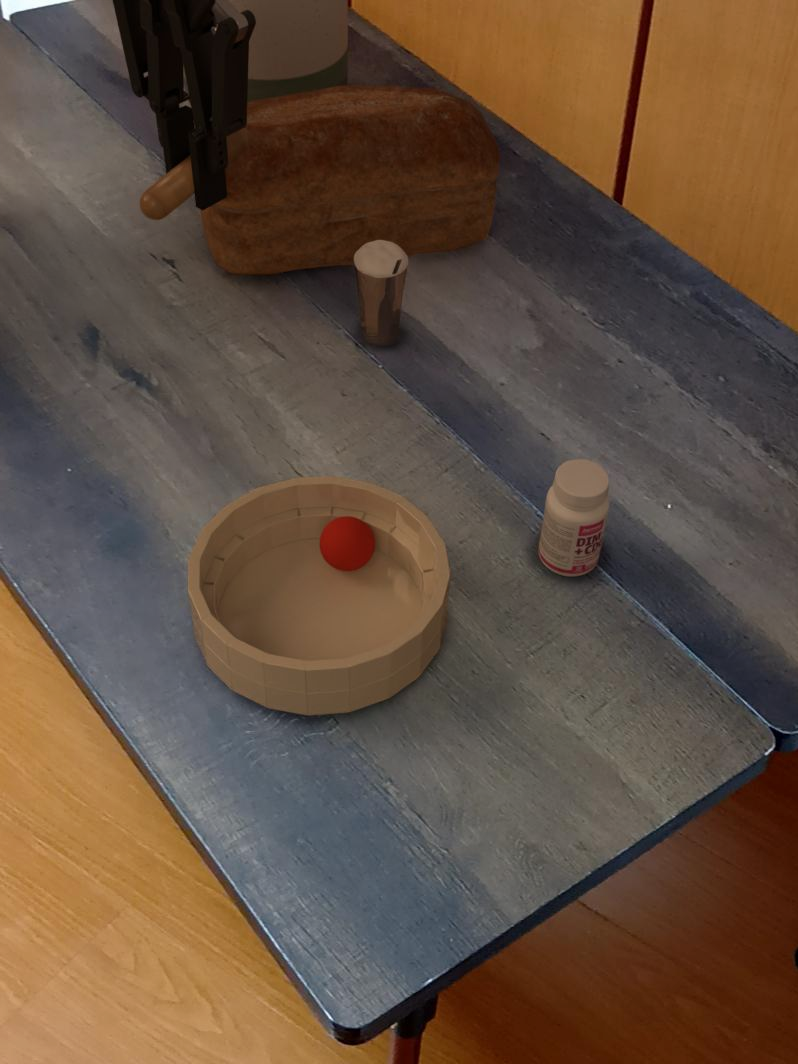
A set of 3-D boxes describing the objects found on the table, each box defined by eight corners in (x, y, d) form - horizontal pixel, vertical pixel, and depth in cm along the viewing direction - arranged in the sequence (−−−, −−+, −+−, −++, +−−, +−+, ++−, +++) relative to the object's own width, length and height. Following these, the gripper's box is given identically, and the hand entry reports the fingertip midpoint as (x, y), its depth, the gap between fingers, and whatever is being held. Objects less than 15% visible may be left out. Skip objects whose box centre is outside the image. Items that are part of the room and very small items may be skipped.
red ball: (304, 541, 97) (348, 561, 99) (315, 568, 94) (361, 589, 96) (333, 498, 96) (377, 519, 98) (345, 524, 93) (391, 546, 95)
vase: (176, 84, 143) (150, -151, 125) (331, 75, 148) (327, -153, 130) (196, 168, 132) (172, -76, 115) (363, 156, 137) (364, -80, 119)
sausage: (229, 117, 107) (246, 117, 105) (244, 143, 108) (261, 144, 107) (127, 199, 102) (144, 200, 100) (144, 225, 103) (160, 227, 102)
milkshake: (374, 362, 115) (375, 266, 107) (345, 327, 118) (344, 232, 110) (419, 347, 117) (423, 252, 109) (390, 313, 120) (392, 219, 112)
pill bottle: (578, 588, 99) (593, 510, 93) (525, 559, 101) (536, 481, 95) (610, 551, 102) (626, 473, 96) (559, 523, 104) (571, 445, 98)
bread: (188, 221, 126) (173, 81, 116) (467, 188, 135) (476, 56, 124) (213, 295, 119) (198, 153, 108) (505, 256, 127) (518, 121, 117)
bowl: (194, 733, 87) (186, 678, 83) (196, 538, 99) (189, 481, 95) (458, 712, 90) (464, 659, 86) (431, 526, 102) (434, 470, 98)
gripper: (289, -89, 88) (301, 213, 105) (128, -158, 94) (165, 140, 111) (207, -57, 84) (234, 253, 101) (43, -132, 89) (95, 175, 106)
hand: (198, 193), depth 106 cm, fingers closed on sausage, 2 cm apart
